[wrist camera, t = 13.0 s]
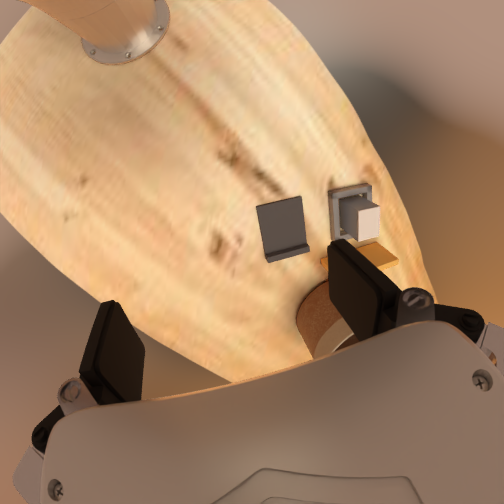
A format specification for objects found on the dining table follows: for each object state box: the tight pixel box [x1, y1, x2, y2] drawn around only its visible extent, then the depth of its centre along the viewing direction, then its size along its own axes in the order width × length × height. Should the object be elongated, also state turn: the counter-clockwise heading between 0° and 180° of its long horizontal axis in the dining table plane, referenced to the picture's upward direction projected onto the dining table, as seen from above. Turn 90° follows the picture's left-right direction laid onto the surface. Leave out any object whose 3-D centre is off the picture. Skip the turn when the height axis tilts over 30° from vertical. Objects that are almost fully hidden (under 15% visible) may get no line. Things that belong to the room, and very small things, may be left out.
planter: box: [297, 281, 360, 359], centre depth 47 cm, size 16×16×14 cm
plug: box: [339, 195, 380, 242], centre depth 41 cm, size 5×4×6 cm
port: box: [321, 184, 399, 271], centre depth 41 cm, size 13×12×7 cm
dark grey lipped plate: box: [256, 196, 310, 263], centre depth 42 cm, size 9×7×2 cm
